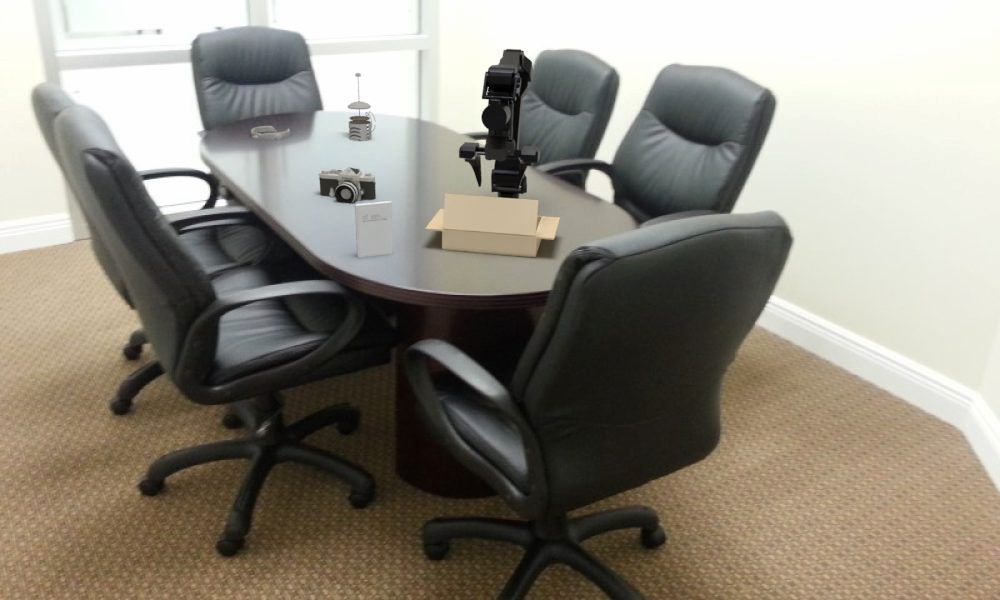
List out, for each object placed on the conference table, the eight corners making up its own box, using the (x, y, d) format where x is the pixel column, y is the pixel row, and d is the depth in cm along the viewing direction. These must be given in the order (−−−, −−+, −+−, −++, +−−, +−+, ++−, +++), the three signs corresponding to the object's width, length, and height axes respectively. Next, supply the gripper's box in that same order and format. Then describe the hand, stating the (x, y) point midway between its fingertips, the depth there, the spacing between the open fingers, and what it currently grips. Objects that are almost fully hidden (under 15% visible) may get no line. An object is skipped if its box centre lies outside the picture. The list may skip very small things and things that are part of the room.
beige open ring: (260, 138, 294) (259, 124, 292) (297, 140, 292) (296, 126, 290) (243, 146, 281) (242, 132, 279) (281, 149, 279) (280, 134, 277)
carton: (440, 227, 204) (440, 208, 202) (558, 236, 200) (560, 217, 198) (425, 248, 190) (425, 228, 188) (552, 258, 186) (554, 238, 184)
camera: (312, 204, 220) (309, 168, 216) (323, 196, 228) (321, 161, 224) (368, 209, 218) (367, 172, 214) (378, 200, 225) (377, 164, 222)
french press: (360, 141, 294) (357, 70, 284) (384, 145, 287) (382, 73, 278) (340, 145, 286) (337, 72, 276) (364, 150, 280) (361, 76, 270)
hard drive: (356, 256, 184) (354, 203, 179) (391, 252, 187) (390, 200, 182) (358, 258, 182) (356, 205, 178) (393, 254, 186) (392, 202, 181)
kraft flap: (445, 193, 187) (445, 193, 186) (538, 200, 184) (538, 200, 183) (442, 228, 187) (442, 228, 187) (535, 235, 184) (535, 235, 184)
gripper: (454, 126, 183) (453, 193, 189) (536, 131, 180) (533, 199, 187) (463, 118, 193) (463, 182, 199) (541, 122, 191) (538, 187, 197)
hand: (498, 187), depth 195 cm, fingers open, 9 cm apart
